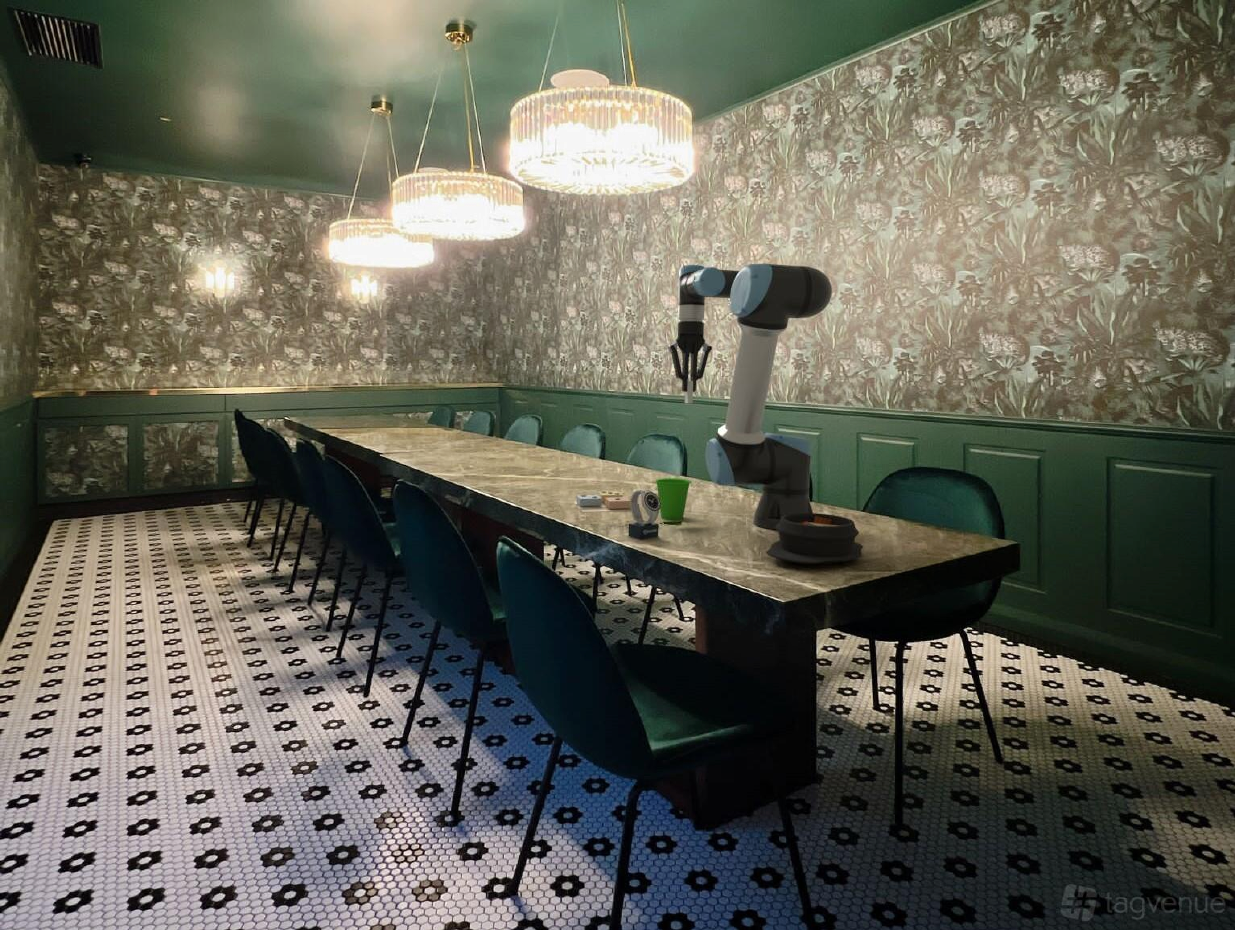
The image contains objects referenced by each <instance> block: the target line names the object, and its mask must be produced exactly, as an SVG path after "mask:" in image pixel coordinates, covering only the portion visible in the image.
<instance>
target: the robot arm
mask: <svg viewBox="0 0 1235 930" xmlns="http://www.w3.org/2000/svg"><path fill="white" fill-rule="evenodd" d="M678 272H679V275H678V304H677V305H678V307H677V308H678V311H677V319H678V320H679V321H678V323H677V335H676V336H677V338H676V339H675V342H674V343H672V344H669V345H668V346H667V348H668V351H669V352H670V353H671V358H672V363H673V368H674V372H675V376H676V378H677V379H678V380H681V381H682V382H681V390H682V392H684V403H685V404H693V402H694V401H693V399H694V398H693V397H694V393H695V392H696V390H697V381H698V380H700V379H703V377H704V374H705V369H706V367H707V362H708V358H709V354H710V353H711V351H712V350H713V346H712V345H709V344H708V343H706V340H705V337H704V333H705V332H704V330H705V323H704V322H703V321H705V305H706V304H705V299H706V298H717V299H720V298H722V299H729V301H730V303H729V307H730V310H731V313H732V314H733V315H734V316H735V317H736V321H735V322H736V324H737V325H738V326H739V328H740V329H741V331H740V335H739V342H738V348H737V352H736V354H737V355H736V360H735V365H734V372H733V378H732V384H731V389H730V393H729V394H730V395H729V402H728V406H727V413H726V418H725V424H722V426H720V427H718V429H717V434H716V438H714V437H713V438H711V439H709V440H708V441H707V443H706V446H705V464H706V469H707V473H708V475H709V477H710V479H711V480H712V481H713V483H714V484H715V485H717V486H726V487H727V486H729V487H730V488H731V487H734V486H735V487H736V486H737V487H739V486H742V487H743V486H762V487H761V494H760V495H761V496H760V498H759V501H758V504H757V506H756V509H755V511H754V514H753V524H754V525H756V526H757V527H760V528H764V529H771V530H777V529H776V525H777V524H779V522H780V519H781V517H782V516H785V515H789V514H796V513H814V511H813V506H812V503H811V501H810V494H809V493H810V477H811V476H810V474H811V459H812V450H811V449H812V446H811V442H810V440H808V438H805V437H800V436H793V435H788V434H781V433H773V432H763V431H762V430H761V429H762V424H763V419H764V413H765V409H766V408H765V407H766V403H767V397H768V392H769V386H770V381H771V378H772V377H771V376H772V371H773V366H774V361H775V360H774V359H775V355H776V351H777V344H778V339H779V336H780V334H782V333H783V332H784V331H786V330H787V328H788V324H789V320H790V319H808V318H812V317H813V316H814V317H815V316H816V315H818V314H820V313H822V312H823V311H824V310H825V309H826V307H827V306H829V303H830V302H831V299H832V294H833V287H832V282H831V281H830V279H829V277H828V276H827V275H826V274H825V273H824V272H822V271H821V270H819V269H818V268H815V267H811V266H805V265H804V266H803V265H800V266H799V265H789V264H787V265H786V264H777V263H776V264H775V263H765V262H763V263H750V264H747V265H745V266H743V268H741V269H740V270H734V269H733V270H731V269H719V268H717V267H713V266H712V267H711V266H710V267H705V266H704V265H698V264H688V265H683V266H681V267H680V268H679V271H678ZM678 349H679V351H681V356H682V359H681V360H682V364H681V362H680V358H679V353H678ZM701 350H702V353H701V356H700V360H699V365H698V358H699V352H700V351H701ZM689 367H690V371H689ZM689 372H690V374H689ZM689 375H690V379H689ZM777 531H778V530H777Z"/></svg>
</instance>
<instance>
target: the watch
mask: <svg viewBox="0 0 1235 930" xmlns="http://www.w3.org/2000/svg"><path fill="white" fill-rule="evenodd" d="M639 497H641V500H640V501H641V506H642V508H643V509H644V510H645V512H646V514H647V516H648V518H647V520H645V519H643V515H642V511H641V509H640V504H639ZM660 507H661V500H660V499H659V496H658V494H657V493H655V492H654V491H652V490H649V489H639V490H636V491H634V492H632V495H631V497H630V508H631V511H630V512H631V515H632V517H633V520H634V521H636V522H629V523H628V537H629V536H630V537H629V538H632V537H633V539H636V540H640V541H642V540H647V539H652V538H653V537H654V538H658V537H659V527H660V526H659V523H657V522H655V521H656V520H657V518H658V516H659V514H660Z"/></svg>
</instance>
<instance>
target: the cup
mask: <svg viewBox="0 0 1235 930" xmlns="http://www.w3.org/2000/svg"><path fill="white" fill-rule="evenodd" d="M654 481H655V483H656V487H657V489H656V490H657V496H658V497H659V499H660V500H661V507H660V510H659V513H660V516H661V517H660V518H662V520H663V519H664V520H673V521H662V524H663V523H664V524H663V525H666V524H667V526H680V525H682V523H683V521H682V519H684V515H685V509H686V504H687V498H688V493H689V489H690V484H691V483H692V482H691V480H690V479H686V478H685V479H684V478H676V477H675V478H674V477H672V478H671V477H669V478H668V477H666V478H664V477H663V478H656V479H655V480H654ZM679 520H681V521H679Z"/></svg>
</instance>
